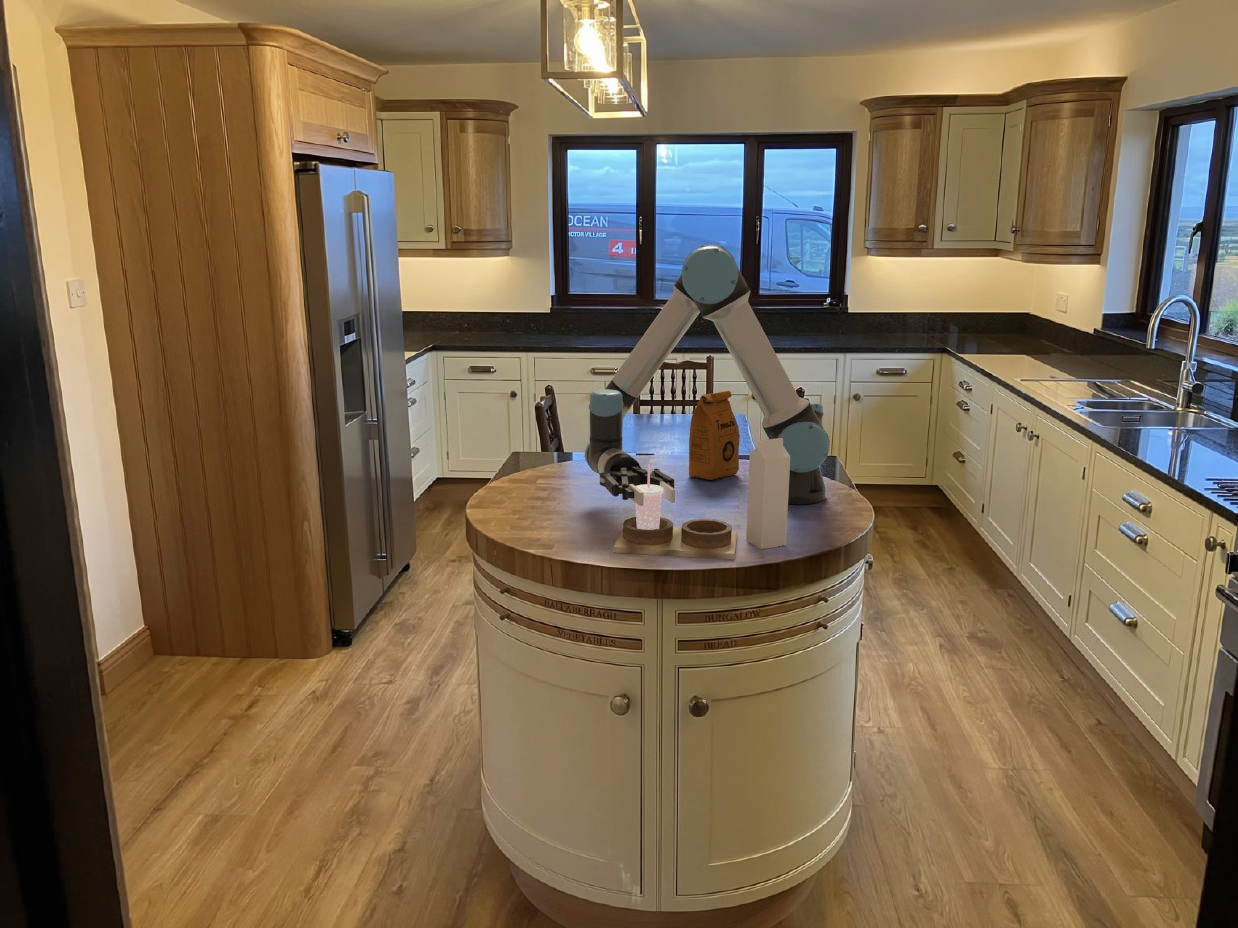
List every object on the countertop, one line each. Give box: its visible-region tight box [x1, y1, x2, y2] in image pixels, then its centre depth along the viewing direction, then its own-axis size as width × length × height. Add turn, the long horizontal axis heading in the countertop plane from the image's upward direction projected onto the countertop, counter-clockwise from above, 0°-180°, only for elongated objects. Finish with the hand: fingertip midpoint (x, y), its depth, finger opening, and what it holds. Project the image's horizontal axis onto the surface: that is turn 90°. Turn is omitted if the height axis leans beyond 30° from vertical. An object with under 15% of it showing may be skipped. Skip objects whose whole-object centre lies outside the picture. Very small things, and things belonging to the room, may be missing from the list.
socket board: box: [613, 516, 738, 560], centre depth 200 cm, size 24×14×4 cm, turn 81°
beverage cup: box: [634, 463, 663, 530], centre depth 199 cm, size 6×6×14 cm
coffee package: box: [688, 389, 741, 481], centre depth 250 cm, size 10×12×22 cm
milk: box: [745, 438, 790, 550], centre depth 199 cm, size 6×6×22 cm
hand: (657, 497), depth 194 cm, fingers closed on beverage cup, 6 cm apart
